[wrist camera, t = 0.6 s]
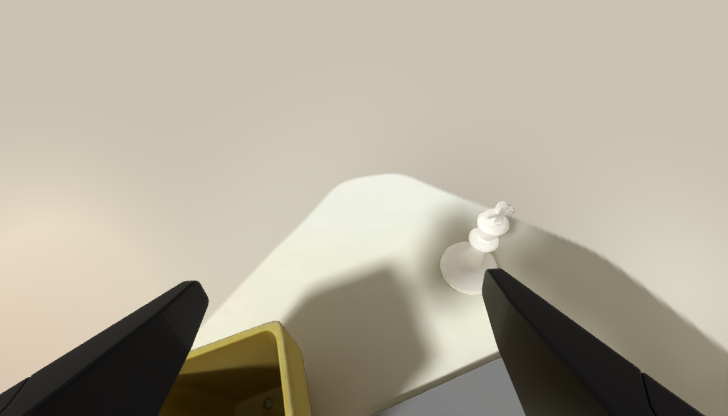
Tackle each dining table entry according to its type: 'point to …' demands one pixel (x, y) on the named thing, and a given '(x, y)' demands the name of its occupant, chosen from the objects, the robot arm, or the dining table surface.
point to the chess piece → (476, 251)
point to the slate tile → (466, 396)
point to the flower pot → (242, 377)
